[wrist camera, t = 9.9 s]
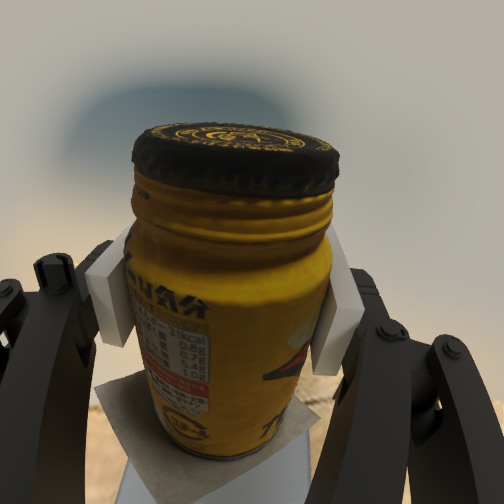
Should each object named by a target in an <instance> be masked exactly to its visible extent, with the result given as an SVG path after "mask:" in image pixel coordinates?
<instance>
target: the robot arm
mask: <svg viewBox="0 0 504 504" xmlns="http://www.w3.org/2000/svg"><path fill="white" fill-rule="evenodd" d="M136 219H137V218H136ZM136 219H135V220H136ZM135 220H134V221H133V222H132V223H131V224H130V225H129V226H128V227H127V228H126V229H125V230H124V231H123V232H122V233H121V234H120V235H119V236H118V237H117V238H116V240H115V241H111V240H107V241H105V242H103V243H102V244H100V245H98V246H97V247H96V248H95V249H94V250H93V251H92V252H91V253H90V254H89V255H88V256H87V257H86V258H85V260H83V261H82V262H81V263H80V264H79V265H78V266H77V267H76V268H75V269H74V265H73V260H72V258H71V256H70V255H67V254H65V253H53V254H49V255H46V256H43V257H42V258H40V259H38V260H37V261H36V262H35V263H34V264H33V266H34V270H35V273H36V277H37V280H38V283H39V287H40V290H39V292H23V289H22V286H21V283H20V282H19V281H18V280H16V279H6V280H5V279H4V280H2V281H1V282H0V335H1V334H2V332H4V334H5V336H6V338H7V340H8V342H9V343H8V344H7V345H6V346H5V347H4V346H3V345H2V343H1V341H0V504H85V450H86V432H87V419H88V408H89V399H90V390H91V382H92V375H93V368H94V361H95V355H96V344H95V341H94V338H95V336H96V335H97V333H98V331H100V335H101V338H102V341H103V343H106V344H110V345H115V346H118V347H122V348H123V347H124V345H125V343H126V341H127V339H128V337H129V335H130V333H131V331H132V329H133V327H134V325H135V322H134V318H133V312H132V306H131V300H130V295H129V289H128V283H127V278H126V266H125V260H124V254H123V250H124V242H125V238H126V236H127V235H128V232H129V230H130V228H131V226H132V225H133V223H134V222H135ZM325 233H326V235H327V237H328V239H329V242H330V244H331V249H332V269H331V273H330V278H329V281H328V286H327V290H326V295H325V298H324V300H323V302H322V305H321V309H320V313H319V314H320V315H319V319H318V321H317V323H316V328H315V330H314V333H313V337H312V340H311V342H310V349H311V359H312V369H313V375H330V376H336V375H337V373H338V371H339V369H340V367H341V365H342V368H343V374H344V376H343V378H342V380H341V382H340V384H339V386H338V388H337V390H336V392H335V394H334V396H333V398H332V399H336V400H335V404H334V408H333V412H332V416H331V420H330V424H329V427H328V431H327V435H326V438H325V442H324V445H323V449H322V452H321V455H320V458H319V462H318V465H317V468H316V471H315V474H314V477H313V480H312V483H311V486H310V489H309V492H308V494H307V497H306V500H305V503H304V504H402V499H403V493H404V486H405V479H406V471H407V468H408V475H409V484H410V493H411V504H504V436H503V433H502V430H501V427H500V424H499V421H498V419H497V416H496V413H495V410H494V408H493V405H492V402H491V400H490V397H489V395H488V392H487V390H486V387H485V385H484V383H483V380H482V378H481V376H480V373H479V371H478V369H477V367H476V365H475V362H474V360H473V358H472V356H471V354H470V352H469V350H468V348H467V347H466V345H465V344H464V343H463V342H462V341H460V339H458V338H456V337H454V336H451V335H447V334H443V335H439V336H438V337H436V338H435V340H434V342H433V343H432V345H429V344H425V343H422V342H418V341H415V340H412V339H410V337H409V333H408V331H407V330H406V329H405V327H404V326H403V325H402V324H400V323H399V322H397V321H396V320H393V319H390V317H389V314H388V312H387V310H386V308H385V305H384V303H383V301H382V299H381V296H379V292H378V289H377V288H376V285H375V283H374V281H373V279H372V277H371V276H370V275H369V274H368V273H367V272H366V271H364V270H362V269H353V268H349V265H348V263H347V261H346V258H345V255H344V253H343V250H342V248H341V245H340V243H339V240H338V238H337V235H336V233H335V231H334V228H333V226H332V224H331V223H330V226H329V228H328V229H327V230H326V231H325ZM439 400H440V402H441V405H442V409H440V407H439V404H438V401H439Z"/></svg>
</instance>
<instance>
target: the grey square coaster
mask: <svg viewBox="0 0 504 504" xmlns="http://www.w3.org/2000/svg"><path fill="white" fill-rule="evenodd" d="M310 486H311V469H310V443H309V429H307V430H306V431H305V432H304V433H302V434H301V435H299V436H298V437H297V438H296V439H294V440H293V441H292V442H290V443H289V444H288V445H286V446H285V447H283V448H282V449H281V450H279V451H278V452H276V453H275V454H273V455H272V456H271V457H269V458H268V459H266V460H265V461H263V462H262V463H260V464H259V465H257V466H256V467H254V468H252V469H251V470H249V471H247V472H246V473H244V474H243V475H241V476H239V477H238V478H236V479H234V480H232V481H230V482H229V483H227V484H226V485H224V486H222V487H220V488H218V489H217V490H215V491H213V492H211V493H209V494H207V495H205V496H204V497H202V498H200V499H198V500H197V501H195V502H193V503H190V504H304V503H305V500H306V497H307V494H308V492H309V489H310ZM115 504H157V503H156V501H155V500H154V498H153V497H152V495H151V494H150V492H149V491H148V489H147V488H146V486H145V485H144V483H143V481H142V480H141V478H140V477H139V475H138V473H137V472H136V470H135V468H134V467H133V465H132V463H131V462H130V460H129V458H128V461H127V464H126V467H125V471H124V474H123V477H122V480H121V484H120V487H119V490H118V494H117V497H116V501H115Z"/></svg>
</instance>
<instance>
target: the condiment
mask: <svg viewBox="0 0 504 504" xmlns="http://www.w3.org/2000/svg"><path fill="white" fill-rule="evenodd" d="M339 157H340V155H339V153H338V151H336V150H335V149H334V148H332V146H331V145H330V144H328V143H327V142H325V141H322V140H320V139H318V138H314V137H311V136H307V135H304V134H300V133H295V132H292V131H289V130H283V129H277V128H270V127H264V126H254V125H244V124H234V123H216V122H212V123H207V122H206V123H205V122H204V123H178V124H170V125H164V126H156V127H154V128H152V129H147V130H145V131H144V133H143V134H142V135H140V136H139V137H138V138H137V140H136V141H135V144H134V148H133V151H132V160H131V161H132V162H133V163H134V173H135V175H134V180H135V185H134V188H133V194H132V198H131V205H132V209H133V213H134V214H135V216H136V217H137V219H136V220H135V222H134V223H133V225H132V226H131V228H130V230H129V232H128V235H127V236H126V238H125V242H124V250H123V254H124V260H125V266H126V278H127V283H128V289H129V295H130V300H131V306H132V312H133V318H134V322H135V327H136V332H137V336H138V341H139V346H140V350H141V355H142V359H143V364H144V368H145V369H144V370H142V371H139V372H136V373H134V374H132V375H129V376H126V377H124V378H121V379H117V380H113V381H109V382H107V383H105V384H102V385H99V386H96V387H94V390H95V392H96V394H97V397H98V399H99V401H100V403H101V405H102V408H103V410H104V412H105V414H106V416H107V418H108V420H109V422H110V424H111V426H112V429H113V431H114V432H115V434H116V436H117V438H118V440H119V442H120V444H121V446H122V447H123V449H124V451H125V453H126V455H127V456H128V458H129V460H130V462H131V463H132V465H133V467H134V468H135V470H136V472H137V473H138V475H139V477H140V478H141V480H142V481H143V483H144V485H145V486H146V488H147V489H148V491H149V492H150V494H151V495H152V497H153V498H154V500H155V501H156V503H157V504H190V503H193V502H195V501H197V500H198V499H200V498H202V497H204V496H205V495H207V494H209V493H211V492H213V491H215V490H217V489H218V488H220V487H222V486H224V485H226V484H227V483H229V482H230V481H232V480H234V479H236V478H238V477H239V476H241V475H243V474H244V473H246V472H247V471H249V470H251V469H252V468H254V467H256V466H257V465H259V464H260V463H262V462H263V461H265V460H266V459H268V458H269V457H271V456H272V455H273V454H275V453H276V452H278V451H279V450H281V449H282V448H283V447H285V446H286V445H288V444H289V443H290V442H292V441H293V440H294V439H296V438H297V437H298V436H299V435H301V434H302V433H304V432H305V431H306V430H307V429H309V428H310V427H311V426H312V425H314V424H315V423H316V422H317V421H318V420H319V419H320V417H319V416H318V415H317V414H315V413H314V412H313V411H312V410H311V409H310V408H309V407H307V406H306V405H305V404H304V403H302V402H301V401H300V400H299V399H298V398H297V397H296V396H294V395H293V394H294V390H295V387H296V386H297V382H298V380H299V377H300V372H301V369H302V367H303V365H304V363H305V360H306V357H307V352H308V347H309V345H310V342H311V340H312V337H313V333H314V330H315V328H316V323H317V321H318V319H319V315H320V314H319V313H320V309H321V305H322V302H323V300H324V298H325V295H326V290H327V286H328V281H329V278H330V273H331V269H332V249H331V244H330V242H329V239H328V237H327V235H326V233H325V231H326V230H327V229H328V228H329V226H330V223H331V219H332V216H333V212H332V209H333V200H332V194H333V192H334V188H335V179H336V178H337V177H338V176H339V165H338V162H339Z"/></svg>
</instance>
